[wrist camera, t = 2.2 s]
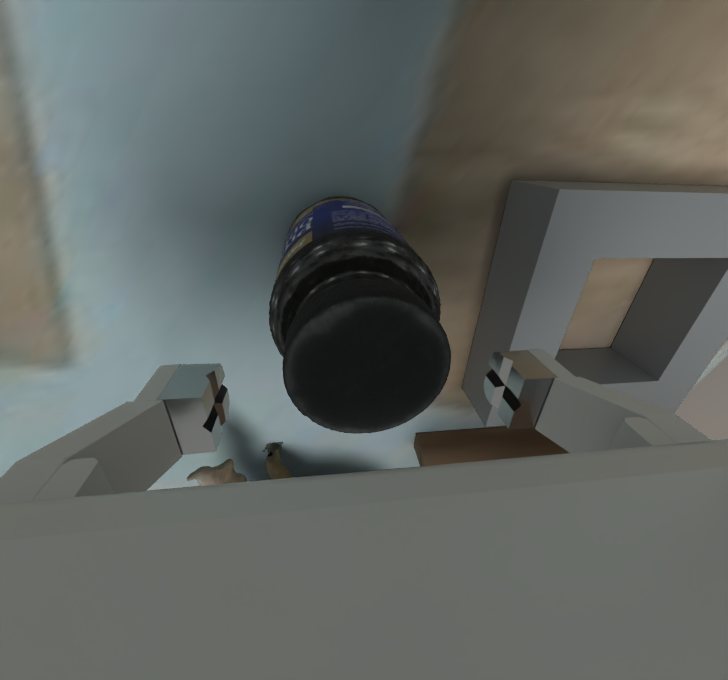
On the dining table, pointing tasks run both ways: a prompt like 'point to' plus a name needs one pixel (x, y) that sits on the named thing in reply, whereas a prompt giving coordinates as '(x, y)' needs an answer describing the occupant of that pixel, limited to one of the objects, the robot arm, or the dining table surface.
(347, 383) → the pill bottle
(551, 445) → the wood grain plank
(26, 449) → the dining table surface
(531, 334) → the socket block
